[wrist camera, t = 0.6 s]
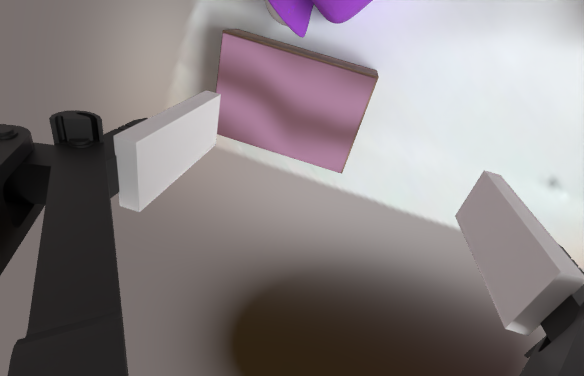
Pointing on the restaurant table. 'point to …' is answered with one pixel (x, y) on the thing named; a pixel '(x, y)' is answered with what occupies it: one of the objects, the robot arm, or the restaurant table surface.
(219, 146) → the restaurant table surface
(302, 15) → the toy camera
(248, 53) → the walnut step
